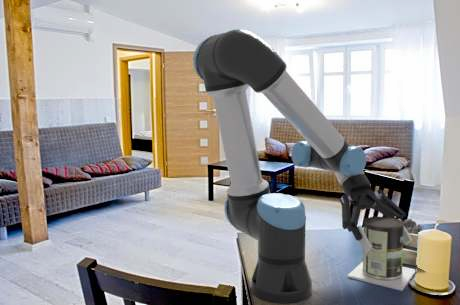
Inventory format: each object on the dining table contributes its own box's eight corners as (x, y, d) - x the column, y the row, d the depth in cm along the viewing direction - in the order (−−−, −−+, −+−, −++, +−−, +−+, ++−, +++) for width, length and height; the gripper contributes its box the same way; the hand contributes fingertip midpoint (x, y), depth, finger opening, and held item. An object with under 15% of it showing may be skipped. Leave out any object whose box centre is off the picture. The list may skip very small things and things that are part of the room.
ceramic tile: (347, 277, 114) (347, 275, 114) (365, 260, 125) (365, 258, 125) (402, 290, 106) (402, 288, 106) (416, 271, 117) (416, 269, 117)
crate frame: (363, 254, 130) (364, 242, 129) (380, 239, 142) (380, 228, 142) (420, 266, 120) (420, 253, 120) (432, 249, 133) (433, 237, 132)
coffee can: (398, 265, 119) (400, 217, 117) (405, 281, 109) (408, 228, 107) (360, 263, 121) (361, 215, 120) (363, 279, 111) (365, 226, 110)
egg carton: (411, 229, 154) (412, 217, 154) (426, 235, 147) (427, 223, 146) (386, 231, 151) (386, 220, 151) (400, 238, 144) (400, 226, 143)
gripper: (379, 183, 132) (416, 245, 120) (311, 191, 122) (343, 260, 110) (393, 168, 126) (432, 232, 115) (322, 176, 116) (357, 247, 105)
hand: (389, 246), depth 112 cm, fingers open, 13 cm apart
